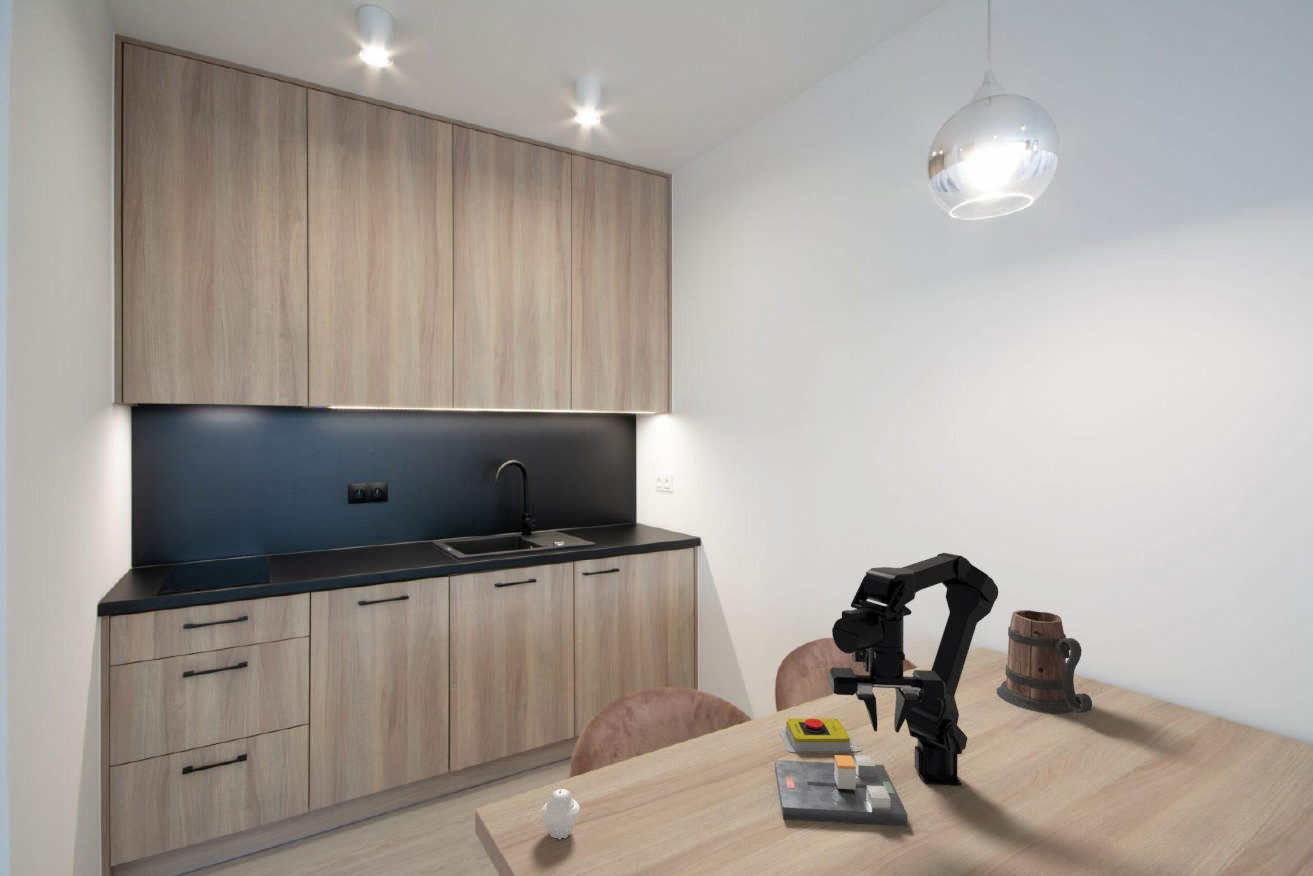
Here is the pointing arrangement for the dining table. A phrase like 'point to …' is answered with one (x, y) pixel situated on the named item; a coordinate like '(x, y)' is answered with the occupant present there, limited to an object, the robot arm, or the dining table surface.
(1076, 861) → the dining table surface
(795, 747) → the emergency button
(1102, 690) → the dining table surface
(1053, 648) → the tankard
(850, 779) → the block
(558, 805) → the white rounded lump
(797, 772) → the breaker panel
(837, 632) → the robot arm
